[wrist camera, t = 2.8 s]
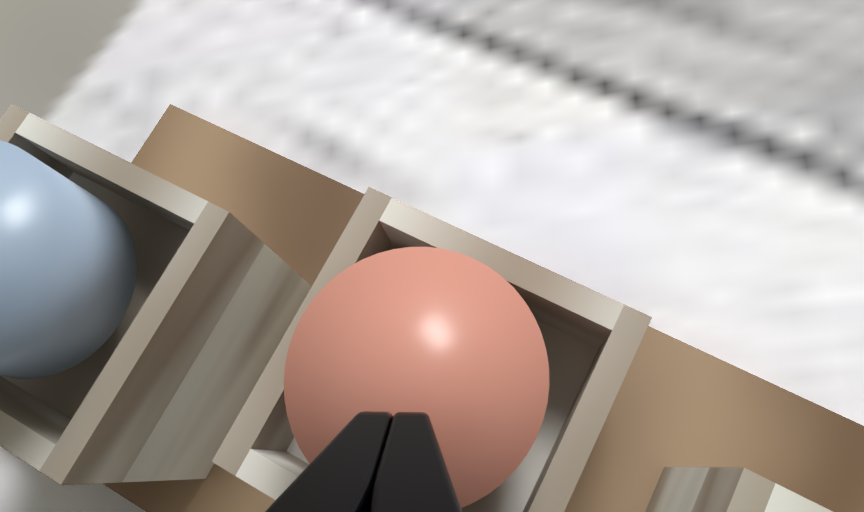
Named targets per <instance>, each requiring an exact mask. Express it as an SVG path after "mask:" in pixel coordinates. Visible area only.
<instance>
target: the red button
mask: <svg viewBox="0 0 864 512" xmlns="http://www.w3.org/2000/svg"><path fill="white" fill-rule="evenodd" d="M548 393H549V364H548V357H547V351H546V347H545V343H544V340H543V336H542V333H541V331H540V328H539V326H538V324H537V322H536V319H535V317H534V315H533V314H532V312H531V310H530V309H529V307H528V305H527V304H526V302H525V301H524V300H523V298H522V297H521V296H520V295H519V293H518V292H517V291H516V290H515V288H514V287H513V286H512V285H510V284H509V283H508V282H507V281H506V280H505V279H504V278H503V277H502V276H501V275H499V274H498V273H497V272H495V271H494V270H492V269H491V268H490V267H488V266H486V265H485V264H483V263H481V262H479V261H477V260H476V259H473V258H471V257H468V256H466V255H463V254H461V253H458V252H454V251H450V250H446V249H441V248H433V247H405V248H398V249H392V250H388V251H384V252H381V253H377V254H375V255H372V256H370V257H367V258H365V259H362V260H360V261H359V262H357V263H355V264H353V265H351V266H350V267H348V268H346V269H345V270H344V271H342V272H341V273H339V274H338V275H337V276H335V277H334V278H333V279H332V280H331V281H330V282H329V283H328V284H326V285H325V286H324V287H323V288H322V289H321V290H320V292H319V293H318V294H317V295H316V296H315V298H314V299H313V300H312V301H311V303H310V304H309V306H308V307H307V309H306V310H305V312H304V313H303V315H302V317H301V319H300V321H299V323H298V325H297V327H296V329H295V331H294V333H293V336H292V339H291V342H290V345H289V348H288V353H287V358H286V362H285V371H284V400H285V405H286V411H287V417H288V420H289V423H290V426H291V430H292V433H293V435H294V437H295V439H296V442H297V444H298V446H299V448H300V450H301V451H302V453H303V455H304V456H305V458H306V459H307V461H308V463H309V464H310V463H311V462H312V461H313V460H314V459H315V458H316V457H317V456H318V455H319V454H320V453H321V451H322V450H323V449H324V448H325V447H326V446H327V445H328V444H329V443H330V442H331V441H332V440H333V439H334V438H335V437H336V436H337V434H338V433H339V432H340V431H341V430H342V429H343V428H344V427H345V426H346V425H347V424H348V423H349V422H350V421H351V420H352V419H353V417H354V416H355V415H356V414H358V413H360V412H363V411H383V412H390V413H391V414H392V415H393V416H394V414H396V413H397V412H425V413H427V414H428V416H429V418H430V420H431V423H432V426H433V429H434V432H435V435H436V438H437V440H438V443H439V446H440V449H441V452H442V455H443V458H444V461H445V463H446V466H447V469H448V472H449V475H450V478H451V481H452V483H453V486H454V489H455V492H456V495H457V498H458V501H459V503H460V506H461V508H462V507H465V506H467V505H470V504H472V503H474V502H475V501H477V500H479V499H481V498H482V497H484V496H486V495H488V494H489V493H490V492H492V491H493V490H494V489H496V488H497V487H498V486H499V485H501V484H502V483H503V482H504V481H505V480H506V479H507V478H508V477H509V476H510V475H511V474H512V473H513V472H514V471H515V470H516V469H517V468H518V466H519V465H520V463H521V462H522V461H523V459H524V458H525V457H526V455H527V454H528V452H529V450H530V449H531V447H532V445H533V443H534V441H535V440H536V438H537V435H538V433H539V430H540V427H541V425H542V422H543V419H544V415H545V411H546V407H547V402H548Z"/></svg>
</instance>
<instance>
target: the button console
mask: <svg viewBox="0 0 864 512" xmlns="http://www.w3.org/2000/svg"><path fill="white" fill-rule="evenodd" d="M0 140H1V141H5V142H8V143H10V144H13V145H15V146H17V147H19V148H21V149H22V150H24V151H26V152H27V153H29V154H30V155H32V156H33V157H35V158H37V159H38V160H40V161H41V162H43V163H44V164H46V165H47V166H49V167H50V168H52V169H54V170H55V171H57V172H58V173H60V174H61V175H63V176H64V177H66V178H67V179H69V180H71V181H72V182H74V183H75V184H77V185H78V186H80V187H81V188H83V189H84V190H86V191H88V192H89V193H91V194H92V195H94V196H95V197H97V198H98V199H100V200H101V201H103V202H105V203H106V204H108V205H109V206H110V207H111V208H112V209H114V210H115V211H116V212H117V213H118V215H119V216H120V217H121V218H122V219H123V221H124V222H125V224H126V226H127V227H128V229H129V231H130V234H131V236H132V239H133V242H134V246H135V250H136V258H137V276H136V282H135V288H134V292H133V295H132V299H131V301H130V304H129V306H128V309H127V311H126V313H125V315H124V317H123V318H122V320H121V322H120V324H119V325H118V327H117V328H116V329H115V331H114V332H113V334H112V335H111V336H110V337H109V338H108V340H107V341H106V342H105V343H104V344H103V345H102V346H101V347H100V348H99V349H98V350H97V351H95V352H94V353H93V354H92V355H91V356H89V357H88V358H86V359H85V360H84V361H82V362H81V363H79V364H77V365H75V366H74V367H72V368H70V369H68V370H65V371H63V372H60V373H58V374H55V375H51V376H47V377H42V378H34V379H18V378H12V377H6V376H0V446H1V447H3V448H4V449H6V450H8V451H9V452H11V453H12V454H14V455H15V456H17V457H18V458H20V459H21V460H23V461H24V462H26V463H27V464H29V465H31V466H32V467H34V468H35V469H37V470H38V471H40V472H41V473H43V474H44V475H46V476H47V477H49V478H51V479H52V480H54V481H55V482H57V483H58V484H60V485H74V484H97V483H103V484H104V485H106V486H107V487H109V488H110V489H112V490H114V491H115V492H117V493H118V494H120V495H121V496H123V497H125V498H126V499H128V500H129V501H131V502H132V503H134V504H135V505H137V506H139V507H140V508H142V509H143V510H145V511H146V512H265V511H266V510H267V509H268V508H269V507H270V506H271V505H272V504H273V502H274V501H275V500H276V499H277V498H278V497H279V496H280V495H281V494H282V493H283V492H284V491H285V490H286V489H287V488H288V487H289V485H290V484H291V483H292V482H293V481H294V480H295V479H296V478H297V477H298V476H299V475H300V474H301V473H302V472H303V471H304V470H305V468H306V467H307V466H308V465H309V463H308V461H307V459H306V458H305V456H304V455H303V453H302V451H301V450H300V448H299V446H298V444H297V442H296V439H295V437H294V435H293V433H292V430H291V426H290V423H289V420H288V417H287V411H286V405H285V400H284V371H285V362H286V358H287V353H288V348H289V345H290V342H291V339H292V336H293V333H294V331H295V329H296V327H297V325H298V323H299V321H300V319H301V317H302V315H303V313H304V312H305V310H306V309H307V307H308V306H309V304H310V303H311V301H312V300H313V299H314V298H315V296H316V295H317V294H318V293H319V292H320V290H321V289H322V288H323V287H324V286H325V285H326V284H328V283H329V282H330V281H331V280H332V279H333V278H334V277H335V276H337V275H338V274H339V273H341V272H342V271H344V270H345V269H346V268H348V267H350V266H351V265H353V264H355V263H357V262H359V261H360V260H362V259H365V258H367V257H370V256H372V255H375V254H377V253H381V252H384V251H388V250H392V249H398V248H405V247H433V248H441V249H446V250H450V251H454V252H458V253H461V254H463V255H466V256H468V257H471V258H473V259H476V260H477V261H479V262H481V263H483V264H485V265H486V266H488V267H490V268H491V269H492V270H494V271H495V272H497V273H498V274H499V275H501V276H502V277H503V278H504V279H505V280H506V281H507V282H508V283H509V284H510V285H512V286H513V287H514V288H515V290H516V291H517V292H518V293H519V295H520V296H521V297H522V298H523V300H524V301H525V302H526V304H527V305H528V307H529V309H530V310H531V312H532V314H533V315H534V317H535V319H536V322H537V324H538V326H539V328H540V331H541V333H542V336H543V340H544V343H545V347H546V351H547V357H548V364H549V393H548V402H547V407H546V411H545V415H544V419H543V422H542V425H541V427H540V430H539V433H538V435H537V438H536V440H535V441H534V443H533V445H532V447H531V449H530V450H529V452H528V454H527V455H526V457H525V458H524V459H523V461H522V462H521V463H520V465H519V466H518V468H517V469H516V470H515V471H514V472H513V473H512V474H511V475H510V476H509V477H508V478H507V479H506V480H505V481H504V482H503V483H502V484H501V485H499V486H498V487H497V488H496V489H494V490H493V491H492V492H490V493H489V494H488V495H486V496H484V497H482V498H481V499H479V500H477V501H475V502H474V503H472V504H470V505H467V506H465V507H462V508H461V509H462V512H864V426H862V425H860V424H858V423H856V422H854V421H852V420H849V419H847V418H845V417H843V416H841V415H839V414H836V413H834V412H832V411H830V410H828V409H826V408H824V407H821V406H819V405H817V404H815V403H813V402H811V401H808V400H806V399H804V398H802V397H800V396H798V395H796V394H793V393H791V392H789V391H787V390H785V389H783V388H780V387H778V386H776V385H774V384H772V383H770V382H768V381H765V380H763V379H761V378H759V377H757V376H755V375H752V374H750V373H748V372H746V371H744V370H742V369H740V368H737V367H735V366H733V365H731V364H729V363H727V362H724V361H722V360H720V359H718V358H716V357H714V356H712V355H709V354H707V353H705V352H703V351H701V350H699V349H696V348H694V347H692V346H690V345H688V344H686V343H684V342H681V341H679V340H677V339H675V338H673V337H671V336H668V335H666V334H664V333H662V332H660V331H658V330H656V329H653V328H651V327H649V326H648V325H649V323H650V320H651V318H652V317H650V316H648V315H646V314H643V313H641V312H639V311H637V310H635V309H633V308H630V307H628V306H626V305H624V304H622V303H620V302H617V301H615V300H613V299H611V298H609V297H607V296H604V295H602V294H600V293H598V292H596V291H594V290H591V289H589V288H587V287H585V286H583V285H580V284H578V283H576V282H574V281H572V280H570V279H567V278H565V277H563V276H561V275H559V274H557V273H554V272H552V271H550V270H548V269H546V268H544V267H541V266H539V265H537V264H535V263H533V262H531V261H528V260H526V259H524V258H522V257H520V256H518V255H515V254H513V253H511V252H509V251H507V250H505V249H502V248H500V247H498V246H496V245H494V244H491V243H489V242H487V241H485V240H483V239H481V238H478V237H476V236H474V235H472V234H470V233H468V232H465V231H463V230H461V229H459V228H457V227H455V226H452V225H450V224H448V223H446V222H444V221H442V220H439V219H437V218H435V217H433V216H431V215H429V214H426V213H424V212H422V211H420V210H418V209H416V208H413V207H411V206H409V205H407V204H405V203H402V202H400V201H398V200H396V199H394V198H392V197H389V196H387V195H385V194H383V193H381V192H379V191H376V190H374V189H372V188H370V187H369V188H368V189H367V191H366V193H365V194H363V193H360V192H358V191H356V190H354V189H352V188H350V187H348V186H345V185H343V184H341V183H339V182H337V181H335V180H332V179H330V178H328V177H326V176H324V175H322V174H320V173H317V172H315V171H313V170H311V169H309V168H307V167H304V166H302V165H300V164H298V163H296V162H294V161H292V160H289V159H287V158H285V157H283V156H281V155H279V154H276V153H274V152H272V151H270V150H268V149H266V148H264V147H261V146H259V145H257V144H255V143H253V142H251V141H248V140H246V139H244V138H242V137H240V136H238V135H236V134H233V133H231V132H229V131H227V130H225V129H223V128H220V127H218V126H216V125H214V124H212V123H210V122H208V121H205V120H203V119H201V118H199V117H197V116H195V115H192V114H190V113H188V112H186V111H184V110H182V109H180V108H177V107H175V106H173V105H171V104H170V105H169V107H168V108H167V110H166V111H165V113H164V114H163V116H162V117H161V119H160V120H159V122H158V123H157V125H156V127H155V128H154V130H153V131H152V133H151V134H150V136H149V137H148V139H147V140H146V142H145V143H144V145H143V146H142V148H141V149H140V151H139V152H138V154H137V155H136V157H135V158H134V160H133V161H132V163H130V162H128V161H126V160H124V159H122V158H120V157H118V156H116V155H114V154H112V153H110V152H108V151H106V150H104V149H102V148H100V147H98V146H96V145H94V144H92V143H90V142H88V141H85V140H83V139H81V138H79V137H77V136H75V135H73V134H71V133H69V132H67V131H65V130H63V129H61V128H59V127H57V126H55V125H53V124H51V123H49V122H47V121H45V120H43V119H41V118H39V117H37V116H35V115H33V114H31V113H29V112H27V111H25V110H23V109H21V108H19V107H17V106H15V105H13V104H11V105H10V106H9V108H8V109H7V111H6V112H5V113H4V115H3V116H2V117H1V119H0Z"/></svg>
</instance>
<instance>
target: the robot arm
mask: <svg viewBox="0 0 864 512" xmlns="http://www.w3.org/2000/svg"><path fill="white" fill-rule="evenodd" d="M265 512H462V509H461V506H460V503H459V501H458V498H457V495H456V492H455V489H454V486H453V483H452V481H451V478H450V475H449V472H448V469H447V466H446V463H445V461H444V458H443V455H442V452H441V449H440V446H439V443H438V440H437V438H436V435H435V432H434V429H433V426H432V423H431V420H430V418H429V416H428V414H427V413H425V412H397V413H396V414H394V416H393V415H392V414H391V413H390V412H383V411H363V412H360V413H358V414H356V415H355V416H354V417H353V419H352V420H351V421H350V422H349V423H348V424H347V425H346V426H345V427H344V428H343V429H342V430H341V431H340V432H339V433H338V434H337V436H336V437H335V438H334V439H333V440H332V441H331V442H330V443H329V444H328V445H327V446H326V447H325V448H324V449H323V450H322V451H321V453H320V454H319V455H318V456H317V457H316V458H315V459H314V460H313V461H312V462H311V463H310V464H309V465H308V466H307V467H306V468H305V470H304V471H303V472H302V473H301V474H300V475H299V476H298V477H297V478H296V479H295V480H294V481H293V482H292V483H291V484H290V485H289V487H288V488H287V489H286V490H285V491H284V492H283V493H282V494H281V495H280V496H279V497H278V498H277V499H276V500H275V501H274V502H273V504H272V505H271V506H270V507H269V508H268V509H267V510H266V511H265Z"/></svg>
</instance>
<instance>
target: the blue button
mask: <svg viewBox="0 0 864 512" xmlns="http://www.w3.org/2000/svg"><path fill="white" fill-rule="evenodd" d="M136 276H137V258H136V250H135V246H134V242H133V239H132V236H131V234H130V231H129V229H128V227H127V226H126V224H125V222H124V221H123V219H122V218H121V217H120V216H119V215H118V213H117V212H116V211H115V210H114V209H112V208H111V207H110V206H109V205H108V204H106V203H105V202H103V201H101V200H100V199H98V198H97V197H95V196H94V195H92V194H91V193H89V192H88V191H86V190H84V189H83V188H81V187H80V186H78V185H77V184H75V183H74V182H72V181H71V180H69V179H67V178H66V177H64V176H63V175H61V174H60V173H58V172H57V171H55V170H54V169H52V168H50V167H49V166H47V165H46V164H44V163H43V162H41V161H40V160H38V159H37V158H35V157H33V156H32V155H30V154H29V153H27V152H26V151H24V150H22V149H21V148H19V147H17V146H15V145H13V144H10V143H8V142H5V141H1V140H0V376H6V377H12V378H18V379H34V378H42V377H47V376H51V375H55V374H58V373H60V372H63V371H65V370H68V369H70V368H72V367H74V366H75V365H77V364H79V363H81V362H82V361H84V360H85V359H86V358H88V357H89V356H91V355H92V354H93V353H94V352H95V351H97V350H98V349H99V348H100V347H101V346H102V345H103V344H104V343H105V342H106V341H107V340H108V338H109V337H110V336H111V335H112V334H113V332H114V331H115V329H116V328H117V327H118V325H119V324H120V322H121V320H122V318H123V317H124V315H125V313H126V311H127V309H128V306H129V304H130V301H131V299H132V295H133V292H134V288H135V282H136Z"/></svg>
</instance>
